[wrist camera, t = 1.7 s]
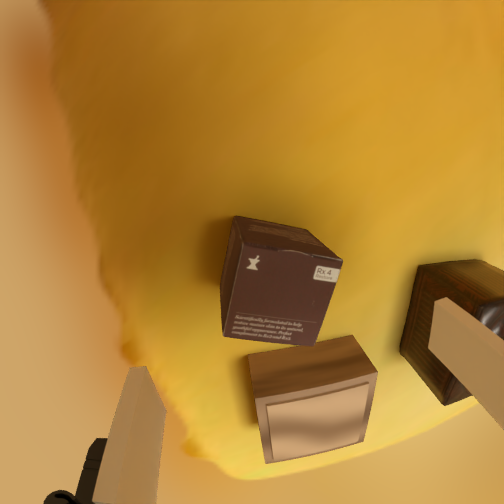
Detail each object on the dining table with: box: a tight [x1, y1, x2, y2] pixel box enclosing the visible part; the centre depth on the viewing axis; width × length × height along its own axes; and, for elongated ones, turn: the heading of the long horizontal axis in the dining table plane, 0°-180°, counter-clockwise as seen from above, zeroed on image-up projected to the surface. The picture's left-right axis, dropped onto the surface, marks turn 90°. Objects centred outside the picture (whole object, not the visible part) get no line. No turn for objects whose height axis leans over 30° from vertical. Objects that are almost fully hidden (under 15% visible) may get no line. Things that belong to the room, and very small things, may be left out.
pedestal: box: [248, 335, 378, 464], centre depth 26 cm, size 10×10×6 cm
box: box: [220, 216, 343, 346], centre depth 21 cm, size 6×6×7 cm
